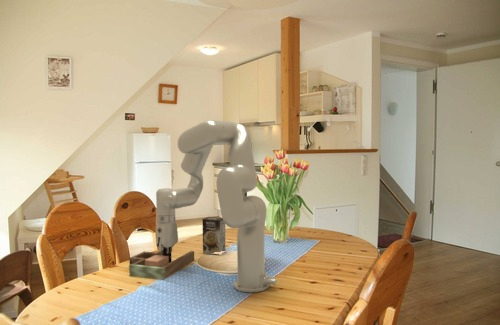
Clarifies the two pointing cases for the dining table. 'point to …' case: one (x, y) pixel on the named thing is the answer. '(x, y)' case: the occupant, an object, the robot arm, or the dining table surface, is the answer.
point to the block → (157, 261)
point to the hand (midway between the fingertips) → (167, 262)
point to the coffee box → (213, 235)
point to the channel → (141, 270)
